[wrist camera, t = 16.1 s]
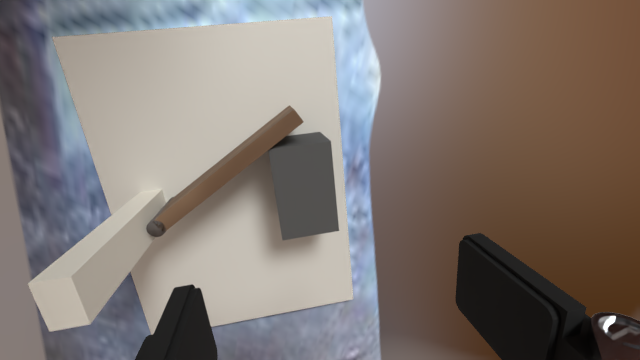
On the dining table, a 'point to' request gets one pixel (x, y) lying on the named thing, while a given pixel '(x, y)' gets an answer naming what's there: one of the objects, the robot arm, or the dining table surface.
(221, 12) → the dining table surface
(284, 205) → the block
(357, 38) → the dining table surface
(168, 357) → the robot arm
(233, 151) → the wooden slat
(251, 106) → the cream base with post
